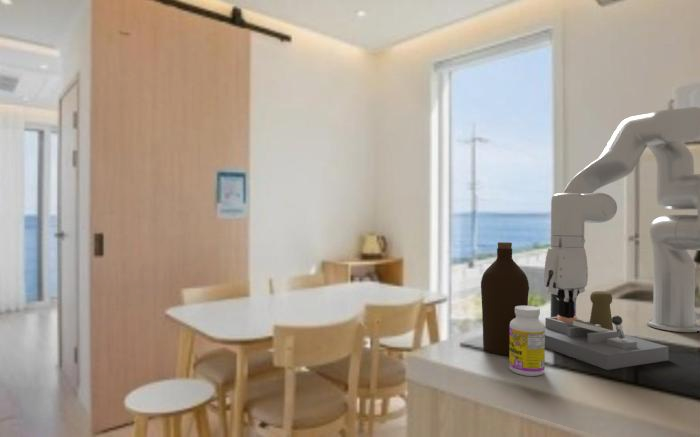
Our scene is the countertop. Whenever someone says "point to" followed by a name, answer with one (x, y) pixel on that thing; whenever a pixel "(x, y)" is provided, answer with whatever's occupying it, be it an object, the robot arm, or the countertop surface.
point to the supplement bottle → (527, 342)
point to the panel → (601, 346)
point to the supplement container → (557, 306)
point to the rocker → (589, 326)
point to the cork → (601, 309)
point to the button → (566, 319)
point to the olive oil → (501, 299)
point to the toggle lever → (618, 326)
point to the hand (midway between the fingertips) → (566, 316)
